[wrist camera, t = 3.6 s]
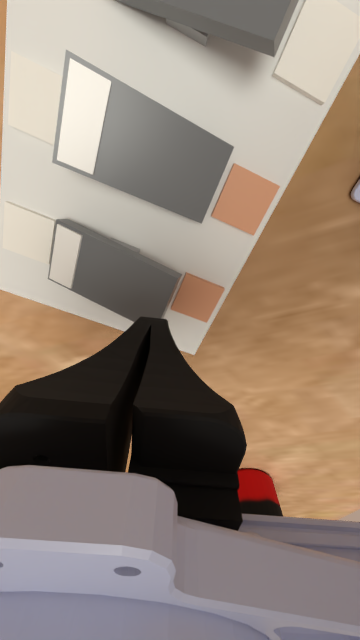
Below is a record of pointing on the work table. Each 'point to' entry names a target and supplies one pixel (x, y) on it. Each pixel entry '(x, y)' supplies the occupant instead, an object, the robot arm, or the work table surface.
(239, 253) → the console
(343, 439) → the work table surface
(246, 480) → the soda can
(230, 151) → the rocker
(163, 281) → the block
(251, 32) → the block
